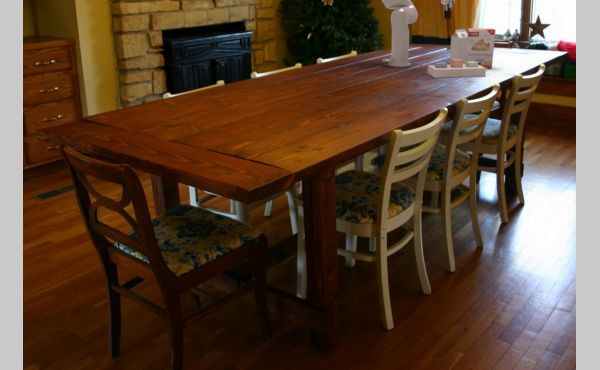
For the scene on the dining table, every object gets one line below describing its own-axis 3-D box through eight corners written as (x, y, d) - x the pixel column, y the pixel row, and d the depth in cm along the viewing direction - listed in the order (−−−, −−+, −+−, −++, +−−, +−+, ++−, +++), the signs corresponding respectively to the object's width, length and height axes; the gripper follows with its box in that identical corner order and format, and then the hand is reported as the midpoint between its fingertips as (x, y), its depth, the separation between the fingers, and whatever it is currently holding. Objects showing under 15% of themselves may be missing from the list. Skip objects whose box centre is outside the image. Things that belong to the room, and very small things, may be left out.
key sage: (468, 72, 319) (468, 63, 317) (465, 71, 323) (465, 61, 322) (477, 72, 319) (478, 62, 317) (474, 70, 324) (474, 61, 322)
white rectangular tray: (434, 77, 314) (435, 69, 312) (427, 73, 327) (427, 65, 326) (485, 76, 315) (485, 68, 314) (476, 71, 328) (476, 63, 327)
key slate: (437, 73, 318) (438, 63, 316) (434, 72, 322) (435, 62, 321) (446, 73, 318) (447, 63, 316) (444, 71, 323) (444, 62, 321)
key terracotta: (453, 70, 318) (453, 60, 316) (450, 68, 322) (450, 59, 321) (462, 70, 318) (462, 60, 316) (459, 68, 323) (460, 58, 321)
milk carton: (449, 63, 355) (451, 29, 349) (459, 62, 358) (461, 28, 352) (457, 65, 349) (459, 30, 343) (467, 64, 352) (470, 29, 346)
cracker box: (465, 68, 337) (468, 29, 330) (464, 67, 343) (467, 28, 336) (492, 68, 335) (495, 29, 328) (490, 67, 341) (494, 27, 334)
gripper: (438, -19, 325) (436, 17, 332) (446, -18, 311) (444, 19, 318) (452, -19, 326) (450, 17, 332) (461, -19, 312) (458, 19, 318)
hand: (447, 18), depth 325 cm, fingers closed
